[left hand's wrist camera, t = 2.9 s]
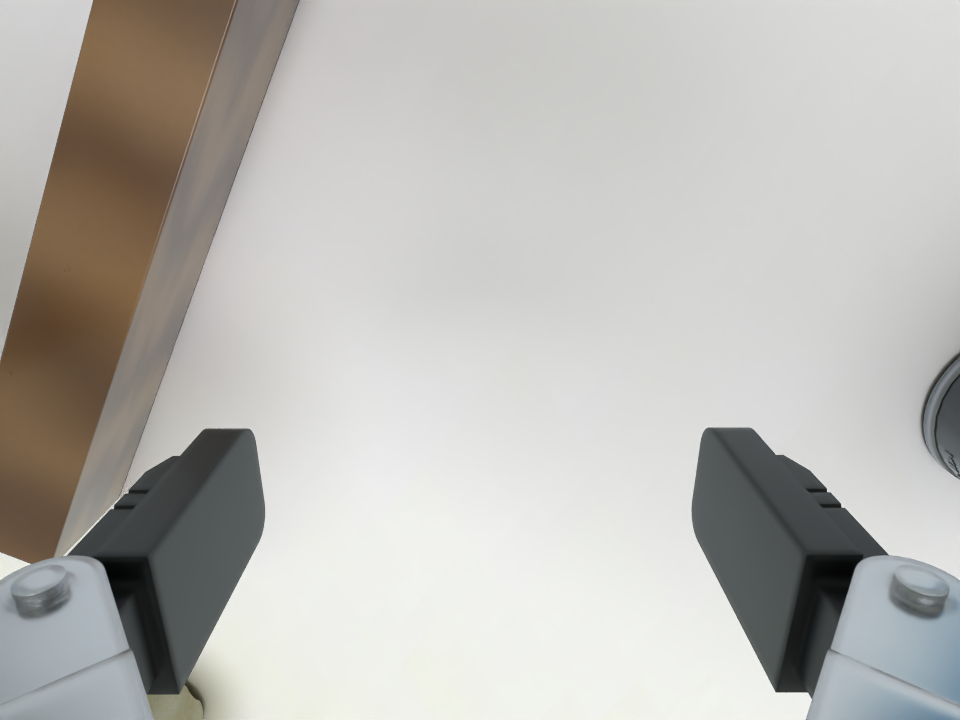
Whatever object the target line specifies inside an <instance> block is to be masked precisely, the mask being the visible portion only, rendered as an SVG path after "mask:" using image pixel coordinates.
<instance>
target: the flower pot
mask: <svg viewBox="0 0 960 720" xmlns="http://www.w3.org/2000/svg"><path fill="white" fill-rule="evenodd" d="M147 698H148V702H149V705H150V708H151V711H152V714H153V718H154V720H203V708H202V705H201V702H200V701H199V700H196V699H195V698H194V697H193V696H192V695H191V694H190V692H189V690H188V688H187V687H186V686H185V685H184V687H183V688H182V690H181V692H180V694H179V695H147Z"/></svg>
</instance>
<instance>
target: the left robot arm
mask: <svg viewBox="0 0 960 720" xmlns="http://www.w3.org/2000/svg"><path fill="white" fill-rule="evenodd" d="M923 430H924V437H925V441H926V444H927V447H928V449H929V451H930V453H931V455H932V456H933V457H934V459H935V460H936V461H937V462H938V463H939V464H940V465H941V466H942V467H943V468H945V469H946V470H947V471H948V472H950V473H951V474H952V475H954V476H955V477H957V478H958V479H960V357H959V358H958V359H956V360H955V361H954V362H953V363H952V364H951V365H950V366H949V367H948V369H947V370H946V371H945V372H944V373H943V375H942V376H941V377H940V379H939V380H938V382H937V383H936V385H935V387H934V389H933V390H932V392H931V395H930V397H929V399H928V402H927V405H926V409H925V413H924V421H923ZM264 521H265V503H264V496H263V489H262V482H261V475H260V468H259V461H258V454H257V447H256V441H255V437H254V434H253V432H252V431H251V430H250V429H205V430H203V431H202V432H201V433H200V434H199V435H198V436H197V438H196V439H195V440H194V441H193V442H192V443H191V444H190V445H189V447H188V448H187V449H186V450H185V451H184V452H183V453H182V454H181V456H172V457H170V458H169V459H167V460H165V461H164V462H162V463H160V464H159V465H157V466H155V467H153V468H152V469H150V470H148V471H147V472H145V473H144V474H143V476H142V477H141V478H140V479H139V480H138V481H137V482H136V483H135V484H134V485H133V486H132V487H131V488H130V489H129V493H128V494H125V495H124V496H123V497H122V498H121V499H120V500H119V501H118V502H117V503H116V504H115V505H114V509H110V510H109V512H108V513H107V514H106V515H105V516H104V517H103V518H102V519H101V520H100V521H99V522H98V523H97V524H96V525H95V526H94V527H93V528H92V530H91V531H90V532H89V533H88V534H87V535H86V536H85V537H84V538H83V539H82V540H81V541H80V542H79V543H78V544H77V545H76V546H75V548H74V549H73V550H72V551H71V552H70V553H69V554H68V555H67V556H61V557H55V558H51V559H46V560H43V561H40V562H36V563H34V564H31V565H28V566H26V567H24V568H22V569H19V570H17V571H15V572H13V573H12V574H10V575H8V576H6V577H5V578H3V579H2V580H0V720H154V718H153V714H152V711H151V708H150V705H149V702H148V698H147V695H179V694H180V692H181V690H182V688H183V687H184V685H185V683H186V681H187V679H188V677H189V675H190V673H191V671H192V669H193V667H194V665H195V664H196V662H197V660H198V658H199V656H200V654H201V652H202V650H203V648H204V646H205V644H206V642H207V641H208V639H209V637H210V635H211V633H212V631H213V629H214V627H215V625H216V623H217V621H218V619H219V618H220V616H221V614H222V612H223V610H224V608H225V606H226V604H227V602H228V600H229V598H230V596H231V595H232V593H233V591H234V589H235V587H236V585H237V583H238V581H239V579H240V577H241V575H242V573H243V572H244V570H245V568H246V566H247V564H248V562H249V560H250V558H251V556H252V554H253V552H254V550H255V549H256V547H257V545H258V543H259V541H260V538H261V536H262V532H263V528H264ZM692 522H693V528H694V532H695V535H696V538H697V540H698V542H699V544H700V546H701V548H702V550H703V552H704V554H705V556H706V558H707V560H708V562H709V564H710V565H711V567H712V569H713V571H714V573H715V575H716V577H717V579H718V581H719V583H720V585H721V587H722V589H723V591H724V593H725V595H726V597H727V598H728V600H729V602H730V604H731V606H732V608H733V610H734V612H735V614H736V616H737V618H738V620H739V622H740V624H741V626H742V628H743V630H744V631H745V633H746V635H747V637H748V639H749V641H750V643H751V645H752V647H753V649H754V651H755V653H756V655H757V657H758V659H759V661H760V663H761V664H762V666H763V668H764V670H765V672H766V674H767V676H768V678H769V680H770V682H771V684H772V686H773V688H774V690H775V692H808V693H809V695H810V697H811V698H812V702H811V705H810V708H809V711H808V714H807V718H806V720H960V580H958V579H957V578H955V577H954V576H952V575H950V574H948V573H947V572H945V571H943V570H941V569H938V568H936V567H934V566H932V565H929V564H926V563H924V562H920V561H917V560H914V559H909V558H905V557H899V556H889V555H888V554H887V553H886V551H885V550H884V549H883V548H882V547H881V546H880V545H879V544H878V543H877V542H876V541H875V540H874V539H873V538H872V536H871V535H870V534H869V533H868V532H867V531H866V530H865V529H864V528H863V527H862V526H861V525H860V524H859V523H858V522H857V520H856V519H855V518H854V517H853V516H852V515H851V514H850V513H849V512H848V511H847V510H846V509H845V508H841V503H840V502H839V501H838V500H837V499H836V498H835V497H834V496H833V495H832V494H831V493H830V492H827V488H826V487H825V486H824V485H823V484H822V483H821V482H820V481H819V480H818V479H817V478H816V477H815V476H814V475H813V473H812V472H811V471H810V470H808V469H806V468H805V467H803V466H801V465H799V464H798V463H796V462H794V461H793V460H791V459H789V458H788V457H786V456H784V455H775V453H774V452H773V451H772V450H771V449H770V448H769V447H768V445H767V444H766V443H765V442H764V441H763V440H762V439H761V437H760V436H759V435H758V434H757V433H756V432H755V431H754V430H753V429H752V428H707V429H705V431H704V432H703V435H702V438H701V443H700V450H699V457H698V464H697V471H696V479H695V486H694V493H693V500H692Z"/></svg>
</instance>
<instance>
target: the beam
mask: <svg viewBox="0 0 960 720" xmlns="http://www.w3.org/2000/svg"><path fill="white" fill-rule="evenodd" d="M298 2H299V0H93V4H92V8H91V12H90V16H89V19H88V23H87V27H86V31H85V35H84V39H83V43H82V47H81V50H80V54H79V58H78V62H77V66H76V70H75V74H74V78H73V81H72V85H71V89H70V93H69V97H68V101H67V105H66V109H65V112H64V116H63V120H62V124H61V128H60V132H59V136H58V140H57V143H56V147H55V151H54V155H53V159H52V163H51V167H50V171H49V174H48V178H47V182H46V186H45V190H44V194H43V198H42V202H41V205H40V209H39V213H38V217H37V221H36V225H35V229H34V233H33V236H32V240H31V244H30V248H29V252H28V256H27V260H26V264H25V267H24V271H23V275H22V279H21V283H20V287H19V291H18V295H17V298H16V302H15V306H14V310H13V314H12V318H11V322H10V326H9V329H8V333H7V337H6V341H5V345H4V349H3V353H2V357H1V360H0V552H1V553H4V554H7V555H9V556H12V557H14V558H17V559H20V560H22V561H25V562H27V563H30V564H34V563H36V562H40V561H43V560H46V559H51V558H55V557H61V556H63V555H64V554H65V553H66V552H67V551H68V550H69V549H70V548H71V547H72V546H73V545H74V544H75V543H76V542H77V541H78V540H79V539H80V538H81V537H82V536H83V535H84V533H85V532H86V531H87V530H88V529H89V528H90V527H91V526H92V525H93V524H94V523H95V522H96V521H97V520H98V519H99V518H100V517H101V516H102V515H103V514H104V513H105V512H106V511H107V510H108V509H109V508H110V507H111V505H112V504H113V503H114V502H115V501H116V500H117V499H118V498H119V496H120V493H121V491H122V488H123V485H124V482H125V479H126V477H127V474H128V471H129V468H130V466H131V463H132V460H133V457H134V455H135V452H136V449H137V446H138V444H139V441H140V438H141V435H142V433H143V430H144V427H145V424H146V422H147V419H148V416H149V413H150V410H151V408H152V405H153V402H154V399H155V397H156V394H157V391H158V388H159V386H160V383H161V380H162V377H163V375H164V372H165V369H166V366H167V364H168V361H169V358H170V355H171V352H172V350H173V347H174V344H175V341H176V339H177V336H178V333H179V330H180V328H181V325H182V322H183V319H184V317H185V314H186V311H187V308H188V306H189V303H190V300H191V297H192V295H193V292H194V289H195V286H196V283H197V281H198V278H199V275H200V272H201V270H202V267H203V264H204V261H205V259H206V256H207V253H208V250H209V248H210V245H211V242H212V239H213V237H214V234H215V231H216V228H217V226H218V223H219V220H220V217H221V214H222V212H223V209H224V206H225V203H226V201H227V198H228V195H229V192H230V190H231V187H232V184H233V181H234V179H235V176H236V173H237V170H238V168H239V165H240V162H241V159H242V157H243V154H244V151H245V148H246V145H247V143H248V140H249V137H250V134H251V132H252V129H253V126H254V123H255V121H256V118H257V115H258V112H259V110H260V107H261V104H262V101H263V99H264V96H265V93H266V90H267V88H268V85H269V82H270V79H271V76H272V74H273V71H274V68H275V65H276V63H277V60H278V57H279V54H280V52H281V49H282V46H283V43H284V41H285V38H286V35H287V32H288V30H289V27H290V24H291V21H292V18H293V16H294V13H295V10H296V7H297V5H298Z"/></svg>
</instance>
